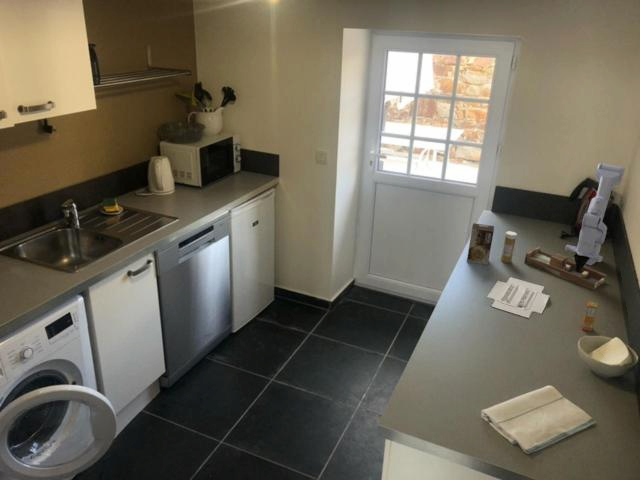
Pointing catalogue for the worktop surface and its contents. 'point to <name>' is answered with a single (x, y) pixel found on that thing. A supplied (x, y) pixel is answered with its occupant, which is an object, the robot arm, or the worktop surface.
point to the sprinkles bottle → (508, 246)
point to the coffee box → (480, 243)
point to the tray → (518, 297)
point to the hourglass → (589, 316)
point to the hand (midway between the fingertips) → (578, 270)
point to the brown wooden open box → (565, 269)
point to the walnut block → (558, 260)
